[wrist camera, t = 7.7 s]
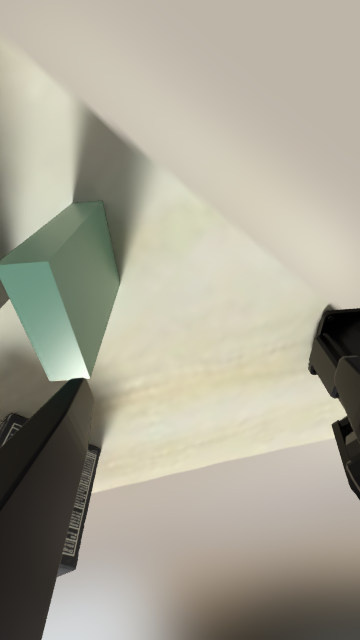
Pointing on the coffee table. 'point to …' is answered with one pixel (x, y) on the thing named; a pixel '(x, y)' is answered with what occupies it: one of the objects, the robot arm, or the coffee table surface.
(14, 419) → the small box
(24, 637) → the robot arm
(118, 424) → the coffee table surface
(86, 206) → the tile
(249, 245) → the coffee table surface
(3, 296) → the tile
